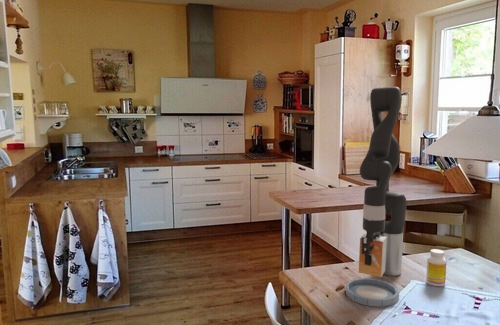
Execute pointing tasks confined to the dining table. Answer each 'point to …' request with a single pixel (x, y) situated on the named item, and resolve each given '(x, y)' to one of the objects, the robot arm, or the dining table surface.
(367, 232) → the robot arm
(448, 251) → the dining table surface
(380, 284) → the grey shallow round dish
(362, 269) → the small box
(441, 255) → the supplement bottle
